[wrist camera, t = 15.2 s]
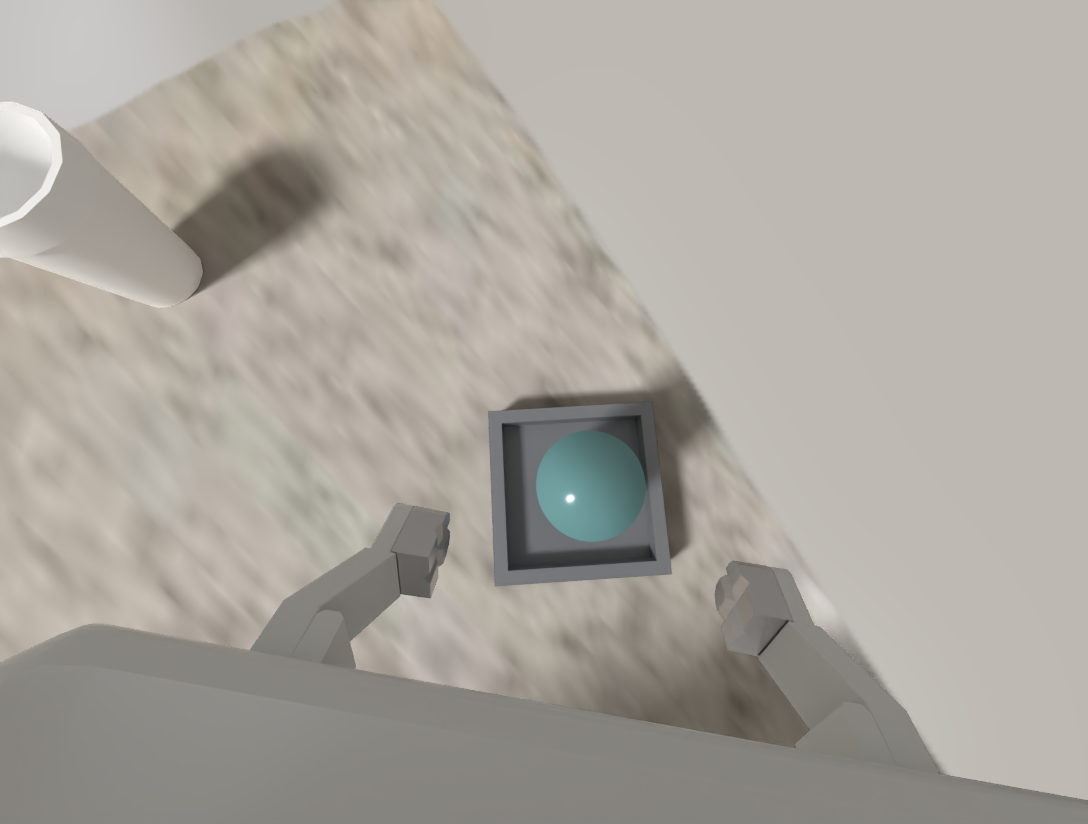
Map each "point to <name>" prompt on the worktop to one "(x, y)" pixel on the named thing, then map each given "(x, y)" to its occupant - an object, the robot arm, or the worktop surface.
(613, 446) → the teal cylinder
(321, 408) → the worktop surface
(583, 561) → the tray
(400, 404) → the worktop surface
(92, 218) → the foam cup
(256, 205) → the worktop surface
